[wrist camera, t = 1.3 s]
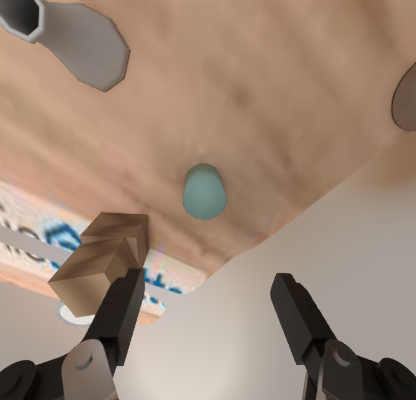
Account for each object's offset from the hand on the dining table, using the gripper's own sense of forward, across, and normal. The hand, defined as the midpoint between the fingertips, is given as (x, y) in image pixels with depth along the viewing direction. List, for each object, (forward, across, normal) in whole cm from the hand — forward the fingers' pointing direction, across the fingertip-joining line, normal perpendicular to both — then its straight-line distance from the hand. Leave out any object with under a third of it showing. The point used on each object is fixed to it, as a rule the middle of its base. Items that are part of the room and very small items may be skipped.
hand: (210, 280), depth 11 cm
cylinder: (+18, 0, 0) cm, 18 cm away
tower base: (+18, +12, +10) cm, 24 cm away
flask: (+18, +13, -14) cm, 26 cm away
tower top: (+12, +12, +10) cm, 20 cm away
